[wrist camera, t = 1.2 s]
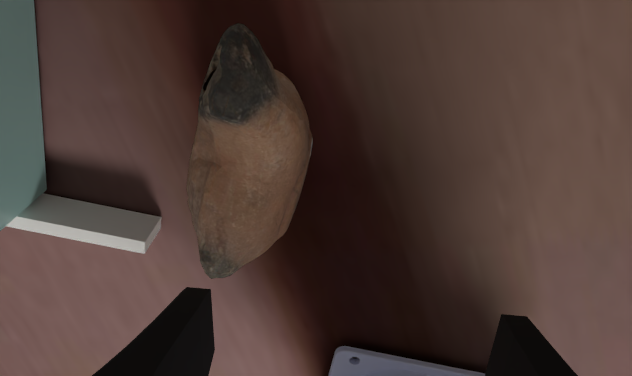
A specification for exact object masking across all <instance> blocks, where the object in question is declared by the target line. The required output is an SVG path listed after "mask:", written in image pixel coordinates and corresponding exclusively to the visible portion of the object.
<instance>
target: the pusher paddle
mask: <svg viewBox="0 0 632 376" xmlns="http://www.w3.org/2000/svg"><path fill="white" fill-rule="evenodd" d="M46 190H47V184H46V169H45V155H44V140H43V125H42V111H41V96H40V82H39V67H38V53H37V38H36V23H35V9H34V0H0V231H1V230H2V229H3V228H4V227H5V226H6V225H7V224H9V223H10V222H11V221H12V220H13V219H14V218H15V217H17V216H18V215H19V214H20V213H21V212H22V211H23V210H24V209H26V208H27V207H28V206H29V205H30V204H31V203H32V202H34V201H35V200H36V199H37V198H38V197H39V196H40V195H41V194H43V193H44V192H45V191H46Z"/></svg>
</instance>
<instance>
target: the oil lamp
mask: <svg viewBox="0 0 632 376" xmlns="http://www.w3.org/2000/svg"><path fill="white" fill-rule="evenodd" d="M312 144H313V138H312V133H311V131H310V128H309V120H308V116H307V112H306V110H305V108H304V105H303V103H302V100H301V98H300V95H299V93H298V92H297V90H296V88H295V86H294V84H293V83H292V82H291V81H290V80H289V79H288V78H287V77H286V76H285V75H284V74H283V73H281V72H279V71H277V70H275V69H274V68H273V66H272V63H271V62H270V60H269V59H268V57H267V56H266V54H265V53H264V51H263V49H262V47H261V45H260V43H259V40H258V39H257V38H256V36H255V35H254V34H253V32H252V31H250V30H249V29H248V28H247V27H246V26H245V25H244V24H239V23H237V24H235V25H233V26H230V27H229V28H228V29H227V30H226V31H225V32H224V33H223V35H222V37H221V39H220V42H219V44H218V45H217V48H216V51H215V53H214V55H213V58H212V60H211V62H210V65H209V68H208V71H207V74H206V77H205V80H204V83H203V86H202V90H201V93H200V97H199V109H198V126H197V130H196V134H195V139H194V143H193V147H192V153H191V156H190V160H189V169H188V178H187V194H188V206H189V208H190V211H191V213H192V223H193V226H194V229H195V231H196V233H197V237H198V247H199V254H200V261H201V264H202V267H203V269H204V271H205V273H206V274H207V275H208V276H209V277H210V278H211V279H212V278H224V277H227V276H230V275H232V274H233V273H234V272H236V271H237V270H238V269H239V268H241V267H242V266H243V265H245V264H247V263H249V262H251V261H252V260H254V259H256V258H257V257H259V256H260V255H262V254H263V253H264V252H265V251H267V250H268V249H269V248H270V247H271V246H272V245H273V244H274V242H275V241H276V240H277V239H279V238H280V237H282V236H283V235H284V234H285V232H286V231H287V229H288V227H289V224H290V222H291V219H292V217H293V214H294V212H295V209H296V206H297V203H298V200H299V197H300V194H301V191H302V187H303V184H304V180H305V176H306V172H307V168H308V164H309V160H310V156H311V149H312Z"/></svg>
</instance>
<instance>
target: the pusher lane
mask: <svg viewBox="0 0 632 376" xmlns="http://www.w3.org/2000/svg"><path fill="white" fill-rule="evenodd" d="M6 226H8V227H13V228H18V229H23V230H28V231H33V232H38V233H43V234H48V235H53V236H58V237H63V238H68V239H73V240H78V241H83V242H88V243H93V244H98V245H103V246H108V247H113V248H118V249H123V250H128V251H133V252H138V253H143V254H145V252H146V251H147V249H148V248H149V246H150V244H151V243H152V241H153V240H154V238H155V237H156V235H157V234H158V232H159V230H160V229H161V217H158V216H153V215H148V214H143V213H139V212H134V211H129V210H124V209H119V208H114V207H109V206H104V205H99V204H94V203H89V202H84V201H79V200H74V199H69V198H64V197H59V196H54V195H49V194H44V193H43V194H41V195H40V196H39V197H38V198H37V199H36V200H35V201H34V202H32V203H31V204H30V205H29V206H28V207H27V208H26V209H24V210H23V211H22V212H21V213H20V214H19V215H18V216H17V217H15V218H14V219H13V220H12V221H11V222H10V223H9V224H7V225H6Z"/></svg>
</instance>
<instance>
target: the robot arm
mask: <svg viewBox="0 0 632 376" xmlns="http://www.w3.org/2000/svg"><path fill="white" fill-rule="evenodd" d="M214 350H215V348H214V333H213V318H212V302H211V289H201V288H190V287H187V288H185V289H184V290H183V291H182V292H181V293H180V294H179V295H178V296H177V297H176V298H175V299H174V300H173V301H172V302H171V303H170V304H169V305H168V306H167V307H166V308H165V309H164V310H163V311H162V313H161V314H160V315H159V316H158V317H157V318H156V319H155V320H154V321H153V322H152V323H151V324H149V325H148V326H147V327H146V328H145V329H144V330H143V331H142V332H141V333H140V334H139V335H138V336H137V337H136V338H135V339H134V340H133V341H132V342H131V343H130V344H128V345H127V346H126V347H125V348H124V349H123V350H122V351H121V352H119V353H118V354H117V355H116V356H115V357H114V358H112V359H111V360H110V361H109V362H108V363H107V364H105V365H104V366H103V367H102V368H101V369H100V370H98V371H97V372H96V373H95V374H93V375H92V376H208V374H209V371H210V367H211V362H212V358H213V354H214ZM352 357H357V359H353V358H352ZM328 376H578V375H577V374H576V373H575V372H574V371H573V370H572V369H571V368H570V367H569V365H568V364H567V363H566V362H565V361H564V360H563V359H562V357H561V356H560V355H559V354H558V353H557V352H556V350H555V349H554V348H553V347H552V346H551V345H550V343H549V342H548V341H547V340H546V339H545V337H544V336H543V335H542V334H541V333H540V331H539V330H538V329H537V328H536V327H535V326H534V324H533V323H532V322H531V321H530V320H529V319H528V317H526V316H514V315H503V314H501V317H500V321H499V325H498V329H497V332H496V336H495V340H494V343H493V347H492V351H491V355H490V358H489V362H488V366H487V370H486V373H480V372H475V371H469V370H464V369H459V368H454V367H449V366H444V365H439V364H434V363H429V362H424V361H419V360H414V359H409V358H404V357H399V356H394V355H389V354H384V353H379V352H374V351H369V350H364V349H359V348H354V347H349V346H341V347H338V348H337V349H336V350H335V353H334V356H333V360H332V364H331V367H330V371H329V374H328Z"/></svg>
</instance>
